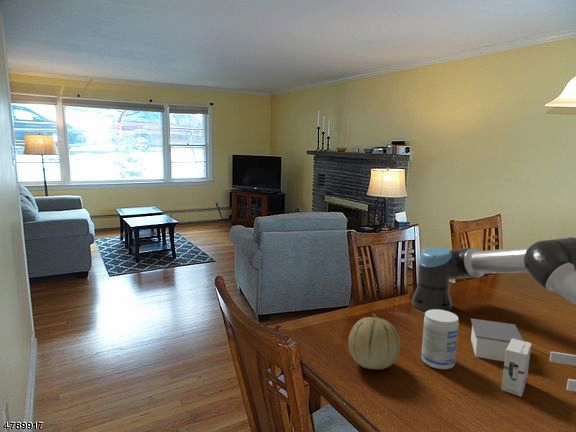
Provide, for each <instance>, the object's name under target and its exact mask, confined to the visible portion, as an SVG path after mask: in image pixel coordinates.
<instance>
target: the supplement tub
mask: <svg viewBox="0 0 576 432" xmlns="http://www.w3.org/2000/svg"><path fill="white" fill-rule="evenodd" d="M459 325H460V323H459V316H458V315H457V314H456V313H453V312H451V311H445V310H437V309H433V310H428V311H426V312H425V311H424V318H423V326H422V327H423V328H422V329H423V330H422V342H421V343H422V344H421V353H420V355H421V360H422V361H423V363H425V365H427V366H428V367H431V368H434V369H436V370H449V369H452V368H453V367H454V366H455V365H456V361H457V360H456V357H457V348H458V347H457V346H458V336H459V335H458V334H459Z"/></svg>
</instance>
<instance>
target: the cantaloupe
mask: <svg viewBox="0 0 576 432" xmlns="http://www.w3.org/2000/svg"><path fill="white" fill-rule="evenodd" d="M348 335H349V336H348V350H349V353H350V355H351V357H352V358H353V360H354V361H355V362H356V363H357V364H358V365H360V367H362V368H364V369H369V370H384V369H387V368H389V367H391V366H392V365H393V364H394V363H395V362H396V360H397V358H398V357H399V354H400V350H401V349H400V348H401V340H400V336H399V334H398V331H397V330H396V328H395V327H394V325H392V323H391V322H389V321H388V320H386V319H384V318H382V317H381V318H380V317H378V316H377V315H376V314H375V313H371V316H368V317H366V316H365V317H362V318H360V319H359V320H358V321H357V322H356V323H355V324H354V325H353V326H352V327H351V330H350V332H349V334H348Z"/></svg>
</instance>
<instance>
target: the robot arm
mask: <svg viewBox="0 0 576 432" xmlns="http://www.w3.org/2000/svg"><path fill="white" fill-rule="evenodd" d="M502 273H503V274H509V273H513V274H515V273H528V274H529V275H530V277H531V278H532V279H533V280H534V281H535V282H537V284H539V285H540V286H541V287H543V288H544V289H545V290H547V291H549V292H556V293H557V294H559V295H561V296H562V297H563V298H565V299H566V300H567V301H569V302H571V303H572V304H573V305H575V306H576V237H573V236H570V237H569V236H568V237H564V238H555V239H548V240H547V239H546V240H537V241H535V242H534V243H532V244H531V245H530V246H523V247H513V248H512V247H510V248H501V249H500V248H498V249H490V250H482V249H479V248H478V247H464V248H458V249H449V248H448V247H443V246H437V247H436V246H431V247H427V248H424V249H423V250H422V251H421V252H420V254H419V259H418V276H417V277H418V278H417V287H416V289H415V290H414V293H413V295H412V299H411V305H412V306H413V307H414V308H416V309H417V310H419V311H422V312H424V313H425V312H426V311H428V310H433V309H437V310H445V311H449V312H451V311H452V308H453V302H452V299H451V293H450V291H449V289H450V288H449V287H450V280H451V281H452V280H456V279H457V280H458V279H464V278H465V279H467V278H468V279H469V278H470V279H471V278H475V279H476V278H481V277H483V276H484V275H485V274H502ZM549 362H551V363H556V364H557V363H558V364H563V365H568V366H575V367H576V354H570V353H563V352H558V351H550V355H549ZM566 390H567V392H568V391H569V392H574V393H576V379H572V378H567V383H566Z"/></svg>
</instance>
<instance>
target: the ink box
mask: <svg viewBox="0 0 576 432" xmlns="http://www.w3.org/2000/svg"><path fill="white" fill-rule="evenodd" d="M531 348H532V343H531V342H529V341H521V340H517V339H513V338H512V339H511V341H510V343H509V345H508V347H507V349H506V354H505V362H504V364H503V372H502V381H501V390H502V391H504V392H507V393H508V394H509V393H510V394H512V395H515V396H518V397H522V396H523V394H524V391H525V388H526V385H527V382H528V374H529V366H530V357H531V350H532V349H531Z"/></svg>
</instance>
